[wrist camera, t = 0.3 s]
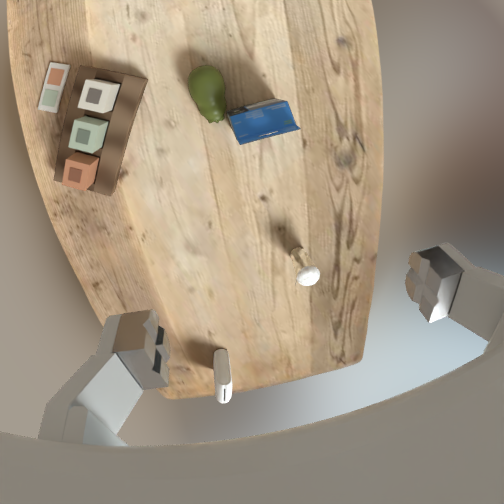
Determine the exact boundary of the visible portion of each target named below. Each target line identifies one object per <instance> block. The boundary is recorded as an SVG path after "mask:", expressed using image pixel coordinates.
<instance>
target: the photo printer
mask: <svg viewBox="0 0 504 504" xmlns="http://www.w3.org/2000/svg"><path fill="white" fill-rule="evenodd" d="M213 368H214V382H215V396H216V399H217V400H218V401H219V402H220V403H227V402H228V401H229V400H230V399H231V395H232V377H231V368H230V360H229V353H228V351H226V350H225V349H218V350H216V351H215V352H214V359H213Z"/></svg>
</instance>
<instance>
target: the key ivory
mask: <svg viewBox="0 0 504 504" xmlns="http://www.w3.org/2000/svg"><path fill="white" fill-rule="evenodd" d="M119 87H120V84H117V83H112V82H108V81H103V80H98V79H86V80H85V84H84V87H83V90H82V94H81V97H80V101H79V104H78V108H82V109H86V110H91V111H95V112H99V113H105V112H108V111H111V110H112V108H113V105H114V102H115V99H116V96H117V93H118V90H119Z"/></svg>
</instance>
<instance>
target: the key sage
mask: <svg viewBox="0 0 504 504" xmlns="http://www.w3.org/2000/svg"><path fill="white" fill-rule="evenodd" d="M107 126H108V121H104V120H100V119H96V118H92V117H88V116H84V117H81V118H78V119H76V120H74V124H73V128H72V132H71V137H70V142H69V146H68V147H70V148H73V149H77V150H81V151H85V152H89V153H94V152H95V151H97V150H98V149H99V148H101V147H102V144H103V140H104V137H105V133H106V129H107Z"/></svg>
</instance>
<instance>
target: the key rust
mask: <svg viewBox="0 0 504 504" xmlns="http://www.w3.org/2000/svg"><path fill="white" fill-rule="evenodd" d="M98 161H99V158H98V157H94V156H91V155H87V154H83V153H79V152H76V153H74V154H73V155H71V156H70V157H68V158H67V159H66V162H65V168H64V174H63V181H62V185H65V186H69V187H72V188H76V189H79V190H83V191H86V189H87V188H88V187H89V186H90V185H91V184H92V183H93V182H94V180H95V175H96V170H97V165H98Z"/></svg>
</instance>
